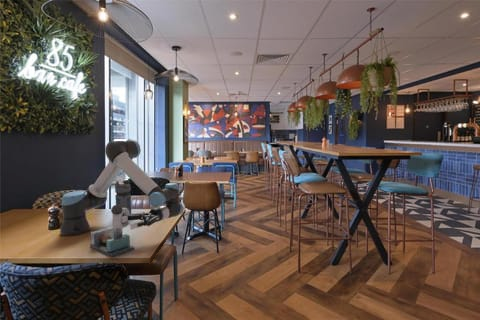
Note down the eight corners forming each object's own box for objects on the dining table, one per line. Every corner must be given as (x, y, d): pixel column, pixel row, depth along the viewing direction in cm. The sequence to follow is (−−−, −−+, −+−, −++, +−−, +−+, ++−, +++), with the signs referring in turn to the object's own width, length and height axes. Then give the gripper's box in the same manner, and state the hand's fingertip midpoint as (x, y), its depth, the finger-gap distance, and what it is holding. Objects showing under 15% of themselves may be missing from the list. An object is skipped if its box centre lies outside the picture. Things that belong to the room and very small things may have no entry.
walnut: (100, 243, 136) (99, 235, 136) (108, 240, 140) (108, 232, 139) (104, 245, 133) (104, 236, 133) (113, 242, 137) (112, 234, 137)
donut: (119, 225, 170) (119, 210, 169) (115, 224, 171) (114, 209, 170) (131, 220, 179) (130, 206, 178) (127, 220, 180) (126, 205, 179)
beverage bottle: (136, 212, 200) (135, 179, 198) (123, 217, 188) (121, 182, 186) (126, 211, 204) (124, 178, 202) (112, 215, 191) (110, 181, 189)
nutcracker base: (90, 246, 136) (89, 232, 135) (111, 240, 145) (110, 226, 144) (112, 257, 123) (111, 241, 122) (134, 249, 132) (133, 234, 131)
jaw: (105, 250, 127) (103, 206, 125) (125, 243, 135) (123, 202, 134) (111, 252, 124) (109, 207, 123) (131, 245, 132) (129, 203, 131)
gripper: (174, 224, 141) (138, 236, 124) (145, 217, 155) (109, 226, 138) (173, 210, 140) (137, 220, 123) (145, 204, 155) (109, 212, 138)
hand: (122, 224), depth 131 cm, fingers open, 13 cm apart
